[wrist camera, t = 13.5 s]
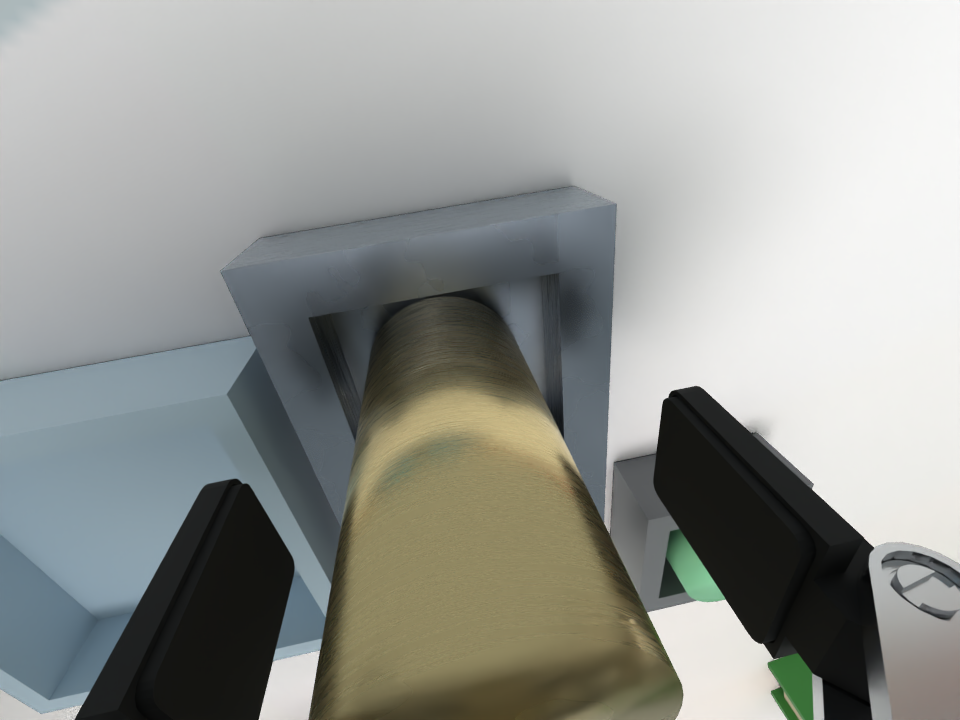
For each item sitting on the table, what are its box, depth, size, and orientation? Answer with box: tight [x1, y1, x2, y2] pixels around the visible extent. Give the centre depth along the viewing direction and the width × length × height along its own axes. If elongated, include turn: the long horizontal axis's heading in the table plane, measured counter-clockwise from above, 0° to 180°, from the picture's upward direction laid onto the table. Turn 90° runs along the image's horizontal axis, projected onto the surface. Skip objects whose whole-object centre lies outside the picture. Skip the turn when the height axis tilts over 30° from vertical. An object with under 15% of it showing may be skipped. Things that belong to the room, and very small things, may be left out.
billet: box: [309, 296, 683, 720], centre depth 10 cm, size 5×5×10 cm
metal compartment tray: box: [221, 186, 617, 527], centre depth 16 cm, size 18×10×3 cm, turn 7°
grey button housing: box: [610, 433, 814, 612], centre depth 20 cm, size 7×7×3 cm
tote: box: [0, 336, 341, 714], centre depth 15 cm, size 13×13×4 cm
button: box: [666, 529, 725, 602], centre depth 19 cm, size 4×4×3 cm
